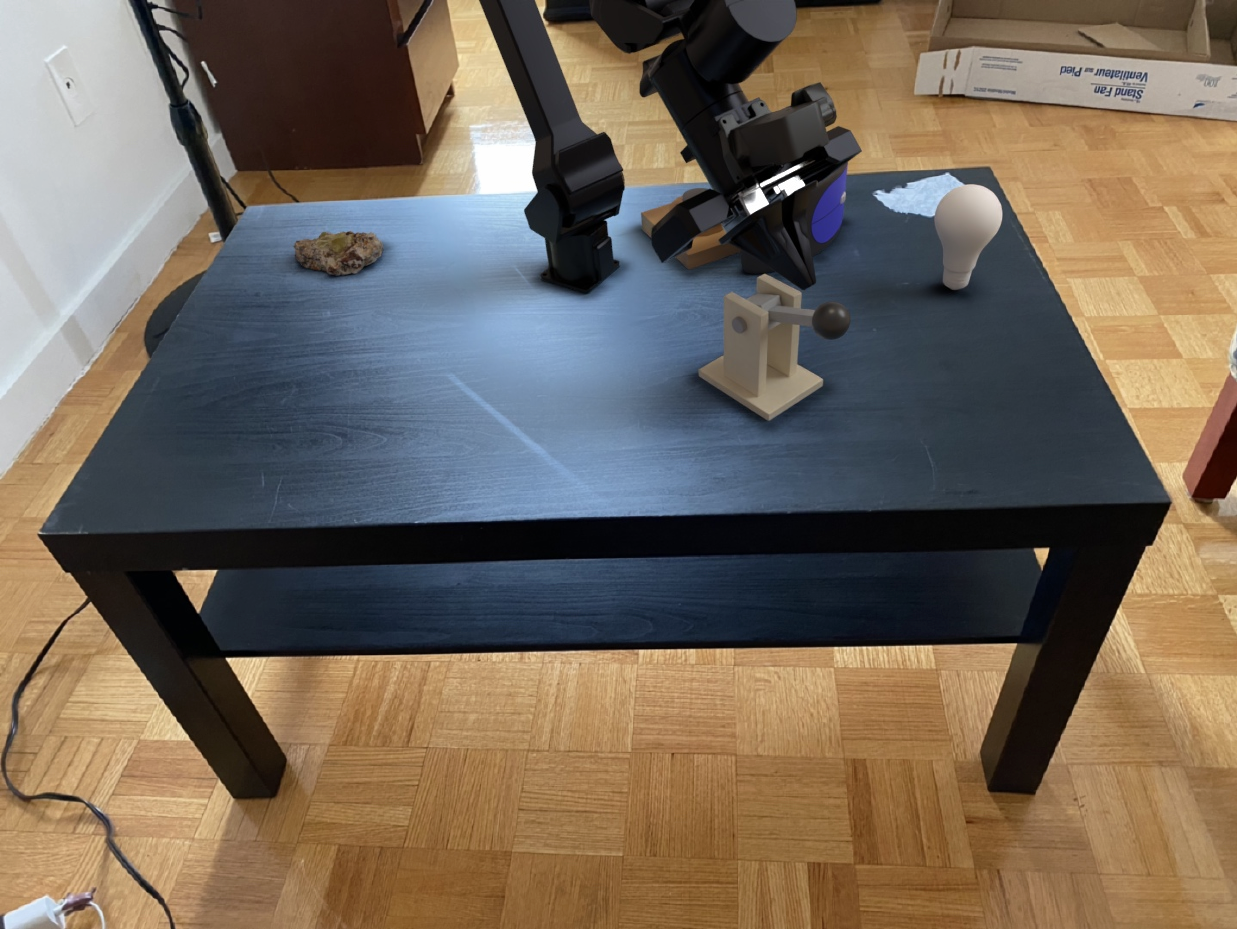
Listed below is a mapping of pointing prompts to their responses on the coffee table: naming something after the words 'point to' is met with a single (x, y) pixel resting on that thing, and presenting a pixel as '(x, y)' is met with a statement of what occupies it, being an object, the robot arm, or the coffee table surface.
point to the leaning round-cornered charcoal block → (815, 218)
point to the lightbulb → (965, 230)
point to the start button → (692, 193)
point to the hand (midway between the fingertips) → (809, 287)
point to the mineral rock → (339, 252)
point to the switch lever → (805, 316)
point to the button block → (703, 244)
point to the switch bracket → (761, 355)
